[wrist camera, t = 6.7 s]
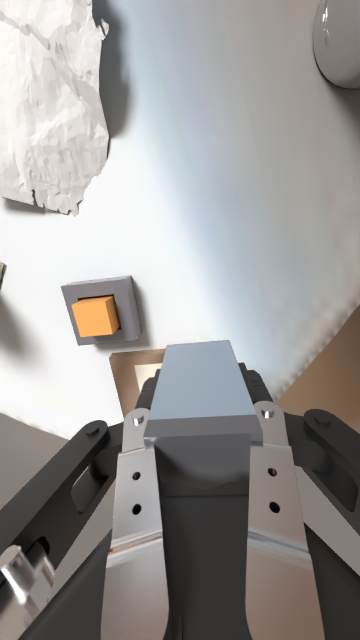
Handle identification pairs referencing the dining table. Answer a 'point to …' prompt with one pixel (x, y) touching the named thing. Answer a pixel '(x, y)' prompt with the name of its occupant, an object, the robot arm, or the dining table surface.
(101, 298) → the button
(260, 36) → the dining table surface
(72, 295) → the button housing
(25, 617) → the robot arm
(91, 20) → the paper
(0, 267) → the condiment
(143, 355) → the drawing board
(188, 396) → the grey rectangular box
